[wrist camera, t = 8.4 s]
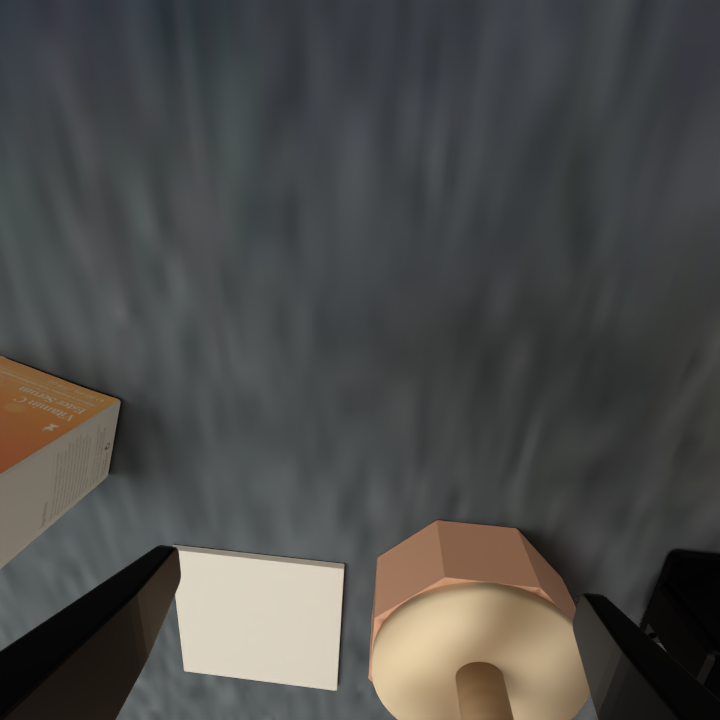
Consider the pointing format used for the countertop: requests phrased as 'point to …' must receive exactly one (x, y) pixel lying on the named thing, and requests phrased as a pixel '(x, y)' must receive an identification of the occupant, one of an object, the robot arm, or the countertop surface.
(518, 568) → the bowl
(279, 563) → the mat
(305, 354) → the countertop surface
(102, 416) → the small box
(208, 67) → the countertop surface
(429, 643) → the lid
